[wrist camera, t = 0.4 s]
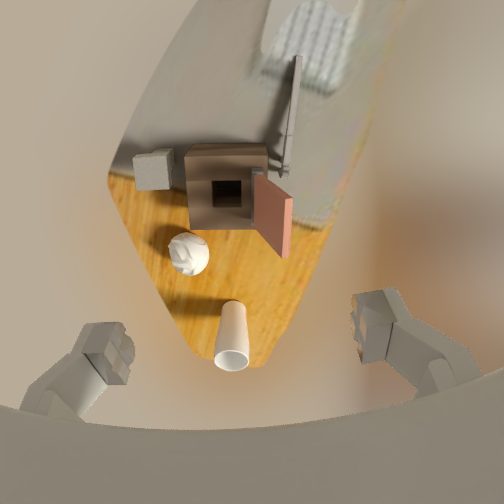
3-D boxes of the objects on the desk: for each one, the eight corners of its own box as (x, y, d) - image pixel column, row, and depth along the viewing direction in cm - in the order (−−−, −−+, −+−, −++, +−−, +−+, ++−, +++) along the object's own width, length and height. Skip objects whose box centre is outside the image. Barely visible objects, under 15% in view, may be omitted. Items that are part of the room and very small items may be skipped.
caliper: (284, 172, 54) (288, 184, 49) (277, 171, 54) (281, 183, 48) (302, 56, 43) (309, 54, 38) (295, 55, 43) (301, 53, 38)
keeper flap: (254, 175, 43) (261, 174, 43) (253, 226, 47) (260, 225, 47) (285, 199, 36) (293, 198, 36) (281, 258, 40) (288, 256, 40)
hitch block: (193, 144, 51) (181, 160, 42) (265, 143, 51) (268, 159, 42) (197, 208, 57) (188, 236, 49) (263, 208, 57) (266, 235, 49)
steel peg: (149, 143, 50) (132, 158, 43) (178, 141, 50) (166, 155, 43) (152, 171, 53) (136, 190, 45) (181, 170, 53) (169, 189, 46)
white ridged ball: (169, 226, 59) (159, 247, 52) (208, 223, 59) (203, 244, 52) (176, 261, 63) (168, 285, 57) (213, 259, 63) (209, 283, 57)
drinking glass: (212, 306, 70) (205, 359, 57) (235, 291, 67) (233, 345, 55) (232, 323, 73) (229, 375, 60) (255, 309, 70) (256, 363, 58)
